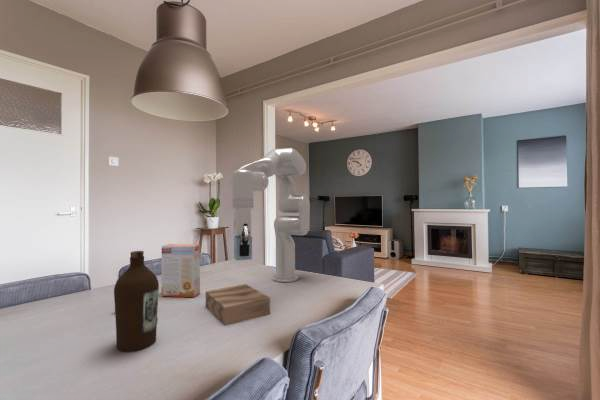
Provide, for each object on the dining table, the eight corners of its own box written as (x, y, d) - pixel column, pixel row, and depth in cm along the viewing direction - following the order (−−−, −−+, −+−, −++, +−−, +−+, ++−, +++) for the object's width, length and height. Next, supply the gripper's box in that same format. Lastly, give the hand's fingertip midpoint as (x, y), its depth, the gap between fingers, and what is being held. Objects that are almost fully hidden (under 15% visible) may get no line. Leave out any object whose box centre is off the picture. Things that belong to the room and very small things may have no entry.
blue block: (233, 257, 106) (234, 235, 106) (248, 256, 108) (248, 235, 108) (236, 260, 101) (236, 237, 101) (252, 259, 103) (252, 236, 103)
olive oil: (104, 353, 74) (104, 255, 74) (130, 334, 84) (130, 248, 84) (144, 353, 73) (145, 255, 73) (165, 334, 84) (165, 248, 84)
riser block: (205, 307, 107) (205, 291, 107) (245, 299, 116) (245, 284, 116) (224, 326, 90) (224, 307, 90) (269, 315, 99) (269, 297, 99)
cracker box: (200, 293, 122) (200, 243, 122) (193, 298, 116) (193, 245, 116) (169, 292, 123) (169, 243, 123) (160, 297, 117) (161, 245, 117)
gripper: (229, 204, 111) (228, 251, 111) (236, 204, 95) (236, 259, 95) (248, 204, 114) (248, 250, 113) (258, 204, 98) (258, 258, 97)
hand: (242, 254), depth 104 cm, fingers closed on blue block, 5 cm apart
